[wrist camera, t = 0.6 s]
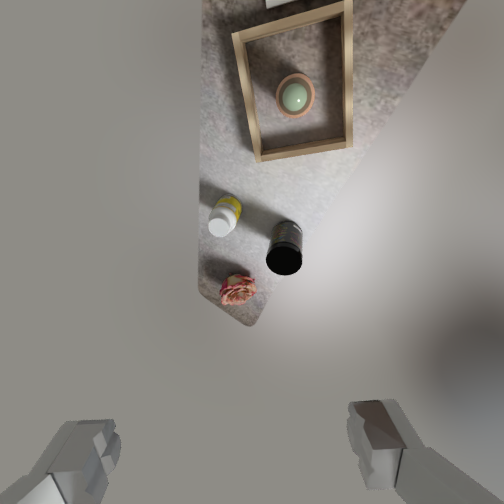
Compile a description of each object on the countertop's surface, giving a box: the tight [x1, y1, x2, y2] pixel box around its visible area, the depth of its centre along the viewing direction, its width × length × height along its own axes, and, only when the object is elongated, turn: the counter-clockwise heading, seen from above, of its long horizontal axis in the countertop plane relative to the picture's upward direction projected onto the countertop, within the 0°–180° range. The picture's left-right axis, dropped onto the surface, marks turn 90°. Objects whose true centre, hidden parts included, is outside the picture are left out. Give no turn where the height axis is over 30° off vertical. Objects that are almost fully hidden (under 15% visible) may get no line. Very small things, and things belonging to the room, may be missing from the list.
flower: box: [220, 273, 257, 305], centre depth 65 cm, size 10×9×8 cm
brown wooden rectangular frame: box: [232, 0, 353, 163], centre depth 42 cm, size 18×16×4 cm
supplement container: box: [266, 221, 303, 275], centre depth 54 cm, size 7×7×10 cm
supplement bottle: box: [208, 195, 242, 237], centre depth 53 cm, size 5×5×10 cm
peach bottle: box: [276, 73, 315, 118], centre depth 39 cm, size 5×5×12 cm
